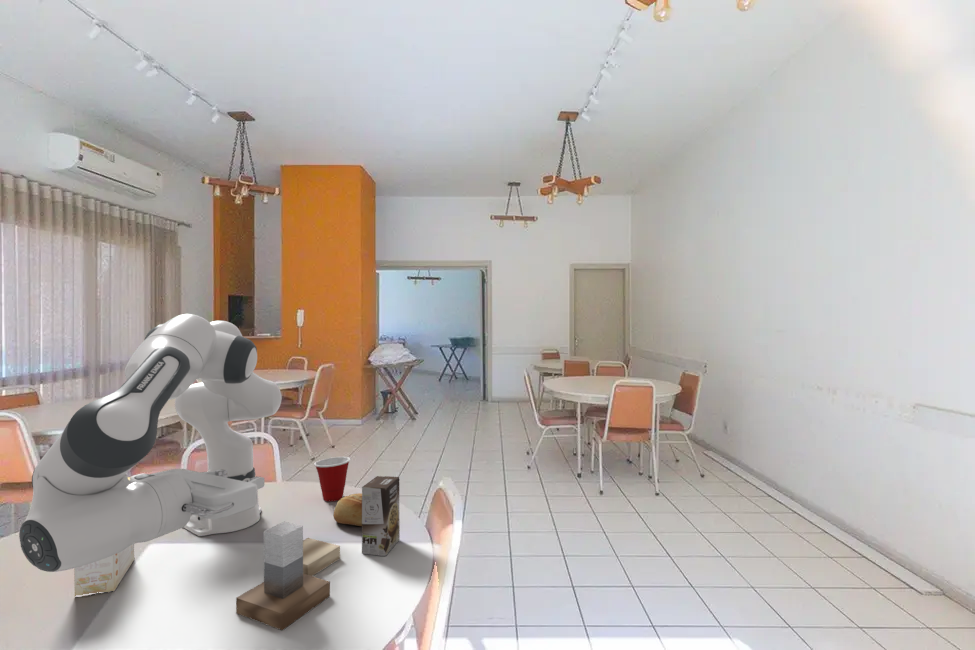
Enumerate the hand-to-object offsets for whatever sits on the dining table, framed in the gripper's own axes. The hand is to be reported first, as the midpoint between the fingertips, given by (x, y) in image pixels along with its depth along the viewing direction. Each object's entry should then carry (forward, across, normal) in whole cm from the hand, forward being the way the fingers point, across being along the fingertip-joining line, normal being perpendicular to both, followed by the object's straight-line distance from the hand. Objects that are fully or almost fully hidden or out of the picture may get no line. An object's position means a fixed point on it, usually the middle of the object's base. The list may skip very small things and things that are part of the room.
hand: (242, 477), depth 88 cm
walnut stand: (+9, 0, +28) cm, 29 cm away
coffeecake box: (0, +43, +28) cm, 51 cm away
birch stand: (+23, +8, +28) cm, 37 cm away
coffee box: (+37, -2, +28) cm, 47 cm away
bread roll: (+45, +12, +28) cm, 55 cm away
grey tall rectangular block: (+9, 0, +25) cm, 26 cm away
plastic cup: (+57, +32, +28) cm, 71 cm away
